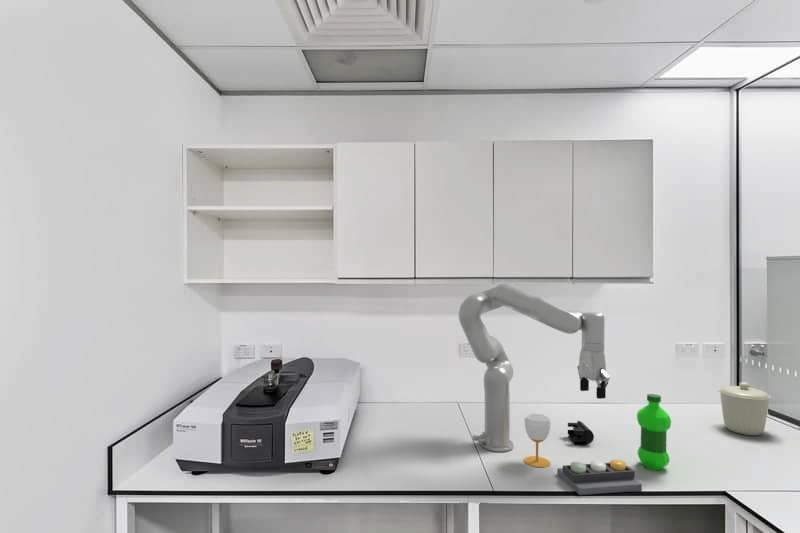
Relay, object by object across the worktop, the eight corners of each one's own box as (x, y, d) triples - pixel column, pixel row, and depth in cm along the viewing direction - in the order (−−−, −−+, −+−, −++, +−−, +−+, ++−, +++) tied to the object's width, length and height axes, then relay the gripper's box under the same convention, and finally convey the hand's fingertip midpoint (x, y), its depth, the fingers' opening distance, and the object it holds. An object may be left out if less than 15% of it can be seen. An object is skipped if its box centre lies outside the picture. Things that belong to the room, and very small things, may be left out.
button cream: (595, 475, 146) (595, 467, 146) (587, 468, 151) (587, 461, 151) (608, 474, 147) (608, 466, 147) (600, 467, 152) (600, 460, 152)
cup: (525, 455, 170) (525, 411, 170) (551, 459, 166) (551, 415, 166) (522, 465, 161) (522, 419, 161) (549, 469, 158) (549, 423, 158)
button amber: (615, 473, 147) (615, 466, 147) (607, 467, 152) (607, 459, 152) (628, 472, 148) (628, 465, 148) (619, 466, 153) (619, 459, 153)
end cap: (594, 446, 179) (594, 429, 178) (575, 446, 179) (575, 428, 179) (584, 437, 188) (584, 420, 188) (567, 436, 189) (567, 420, 189)
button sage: (575, 476, 145) (575, 468, 145) (567, 469, 150) (567, 462, 150) (588, 475, 146) (588, 467, 146) (580, 469, 151) (580, 461, 151)
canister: (762, 442, 184) (763, 390, 183) (711, 429, 198) (711, 380, 198) (776, 433, 194) (777, 383, 194) (727, 421, 209) (727, 375, 209)
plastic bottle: (653, 475, 154) (654, 401, 154) (629, 462, 165) (630, 392, 164) (677, 471, 157) (678, 398, 157) (652, 458, 167) (653, 390, 167)
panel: (579, 495, 141) (579, 480, 141) (557, 474, 154) (557, 461, 154) (641, 490, 144) (641, 476, 144) (614, 470, 158) (614, 457, 158)
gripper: (569, 343, 173) (569, 388, 173) (598, 351, 156) (598, 402, 156) (587, 342, 174) (587, 387, 174) (618, 351, 157) (617, 400, 157)
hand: (592, 394), depth 165 cm, fingers open, 9 cm apart
